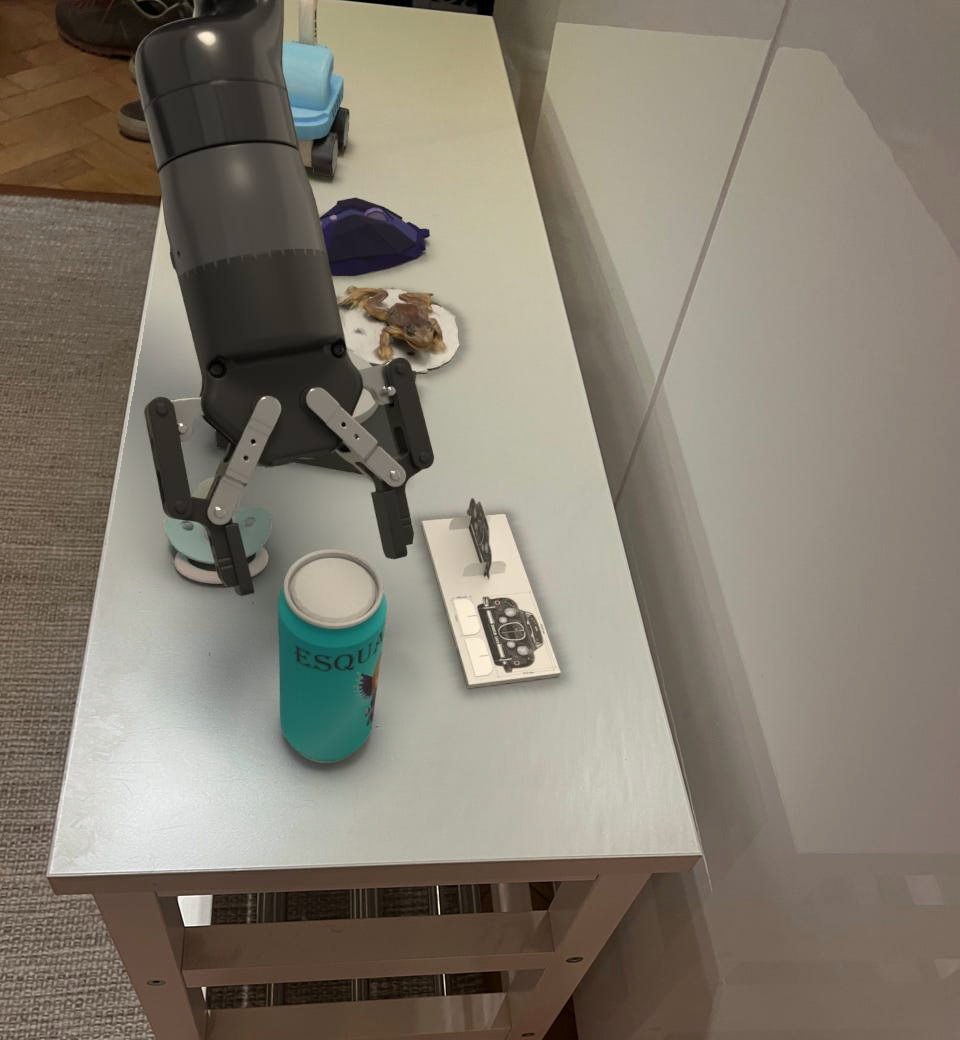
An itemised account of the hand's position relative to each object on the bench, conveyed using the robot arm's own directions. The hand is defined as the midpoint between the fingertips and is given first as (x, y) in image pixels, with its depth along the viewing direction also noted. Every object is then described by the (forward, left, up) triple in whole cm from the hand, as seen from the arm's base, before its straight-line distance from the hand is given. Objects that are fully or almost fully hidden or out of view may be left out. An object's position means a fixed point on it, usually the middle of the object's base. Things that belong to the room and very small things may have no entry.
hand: (323, 574), depth 53 cm
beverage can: (+1, -2, -14) cm, 14 cm away
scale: (-5, +27, -14) cm, 31 cm away
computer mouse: (-7, +52, -14) cm, 54 cm away
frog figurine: (-1, +40, -14) cm, 43 cm away
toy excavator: (-15, +69, -14) cm, 72 cm away
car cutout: (+10, +12, -14) cm, 21 cm away
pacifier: (-9, +11, -14) cm, 20 cm away
